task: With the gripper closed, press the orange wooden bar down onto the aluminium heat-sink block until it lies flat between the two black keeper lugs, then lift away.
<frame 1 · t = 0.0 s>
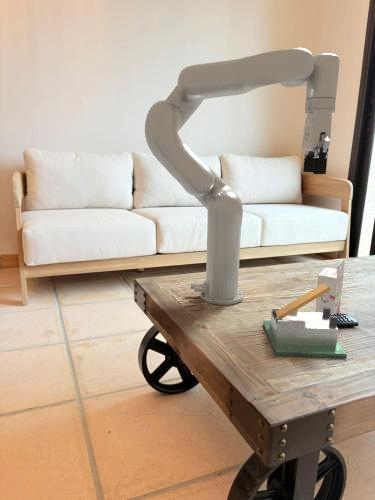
hand: (313, 173, 107), 37 cm above the table, tool pointing down, fingers open, 9 cm apart
orange wooden bar: (302, 301, 89), point 9 cm above the table, hinge at 35.0°
ink cartridge box: (326, 314, 107), on the table
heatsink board: (301, 339, 91), on the table
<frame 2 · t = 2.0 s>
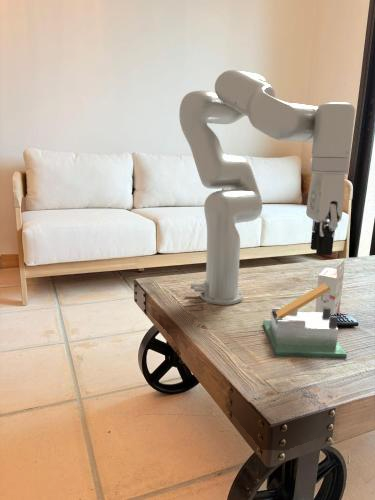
hand: (320, 251, 86), 21 cm above the table, tool pointing down, fingers open, 3 cm apart
nothing on the table moved.
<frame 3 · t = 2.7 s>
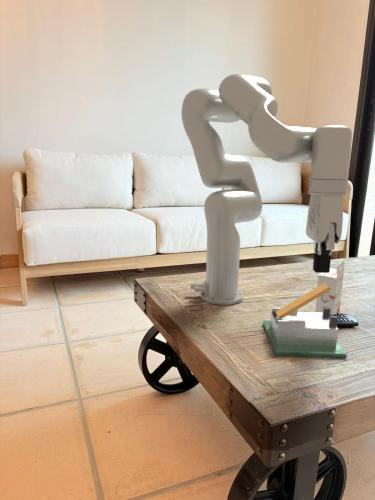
hand: (321, 271, 87), 17 cm above the table, tool pointing down, fingers closed
nothing on the table moved.
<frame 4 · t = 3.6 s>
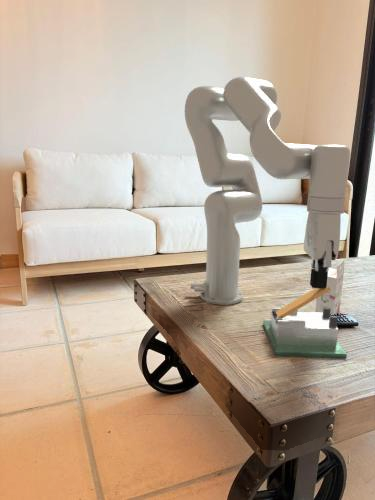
hand: (318, 286, 88), 13 cm above the table, tool pointing down, fingers closed
orange wooden bar: (302, 301, 89), point 9 cm above the table, hinge at 34.8°, touching gripper
everything else where it was.
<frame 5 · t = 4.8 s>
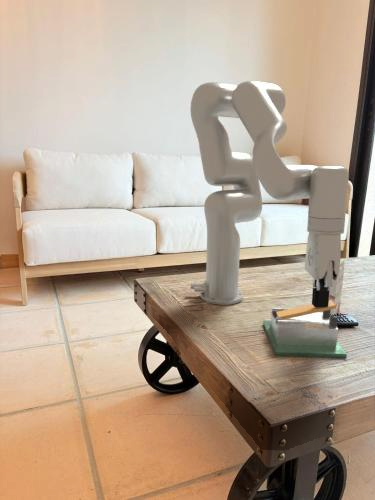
hand: (319, 305, 88), 9 cm above the table, tool pointing down, fingers closed
orange wooden bar: (305, 310, 89), point 7 cm above the table, hinge at 14.5°, touching gripper
everything else where it was.
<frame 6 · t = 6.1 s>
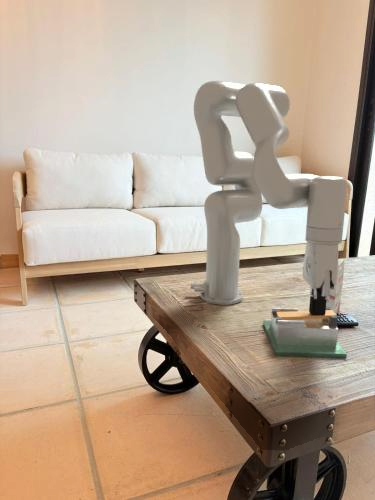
hand: (316, 313, 89), 7 cm above the table, tool pointing down, fingers closed
orange wooden bar: (306, 315, 90), point 6 cm above the table, hinge at 3.8°, touching gripper
everything else where it was.
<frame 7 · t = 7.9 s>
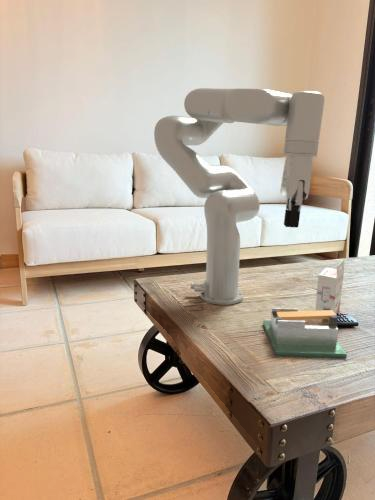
hand: (290, 226, 96), 25 cm above the table, tool pointing down, fingers closed
orange wooden bar: (306, 315, 90), point 6 cm above the table, hinge at 3.7°
everything else where it was.
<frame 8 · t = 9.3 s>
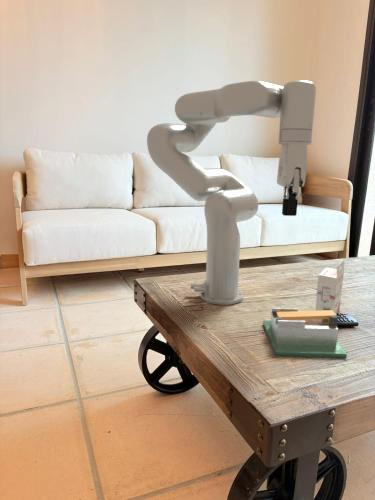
hand: (289, 215, 97), 27 cm above the table, tool pointing down, fingers closed
nothing on the table moved.
at the end: orange wooden bar at +4° (first picture: +35°); ink cartridge box moved 0.2 cm from its start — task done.
